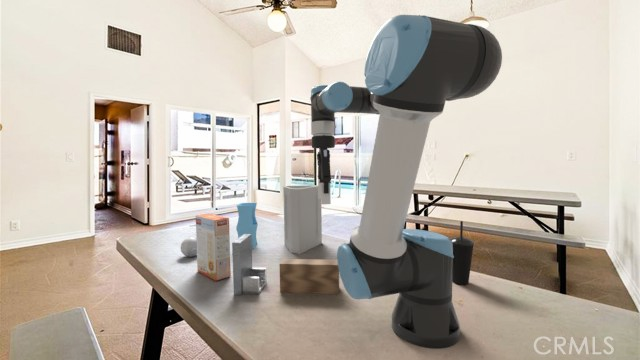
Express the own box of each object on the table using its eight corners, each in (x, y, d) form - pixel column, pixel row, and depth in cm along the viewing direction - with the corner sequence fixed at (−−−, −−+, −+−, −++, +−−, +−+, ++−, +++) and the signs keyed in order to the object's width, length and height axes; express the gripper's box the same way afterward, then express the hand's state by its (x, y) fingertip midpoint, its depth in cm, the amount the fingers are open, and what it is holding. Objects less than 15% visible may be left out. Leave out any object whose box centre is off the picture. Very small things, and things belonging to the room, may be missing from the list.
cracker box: (232, 276, 101) (230, 217, 100) (215, 282, 97) (213, 220, 95) (212, 266, 111) (210, 212, 109) (197, 271, 106) (194, 214, 105)
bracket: (257, 295, 87) (256, 243, 86) (233, 294, 88) (232, 242, 86) (267, 281, 97) (266, 234, 96) (245, 281, 97) (244, 234, 96)
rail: (339, 287, 92) (339, 259, 91) (338, 294, 87) (338, 265, 87) (283, 286, 94) (282, 258, 93) (280, 292, 89) (279, 263, 88)
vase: (254, 248, 134) (252, 205, 132) (237, 248, 134) (235, 205, 132) (258, 243, 141) (256, 202, 140) (241, 243, 142) (240, 202, 140)
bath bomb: (203, 256, 123) (202, 238, 122) (182, 260, 118) (181, 241, 118) (199, 252, 129) (198, 234, 129) (179, 255, 125) (178, 237, 124)
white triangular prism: (297, 238, 149) (296, 184, 147) (322, 242, 141) (321, 185, 139) (273, 248, 133) (271, 187, 131) (300, 254, 125) (298, 189, 123)
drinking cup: (472, 289, 89) (474, 225, 88) (445, 283, 93) (446, 222, 92) (474, 280, 96) (476, 220, 95) (449, 275, 100) (450, 218, 99)
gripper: (340, 131, 82) (340, 206, 83) (330, 138, 107) (331, 196, 108) (313, 131, 81) (314, 207, 82) (310, 139, 106) (310, 197, 107)
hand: (324, 201), depth 95 cm, fingers open, 13 cm apart
